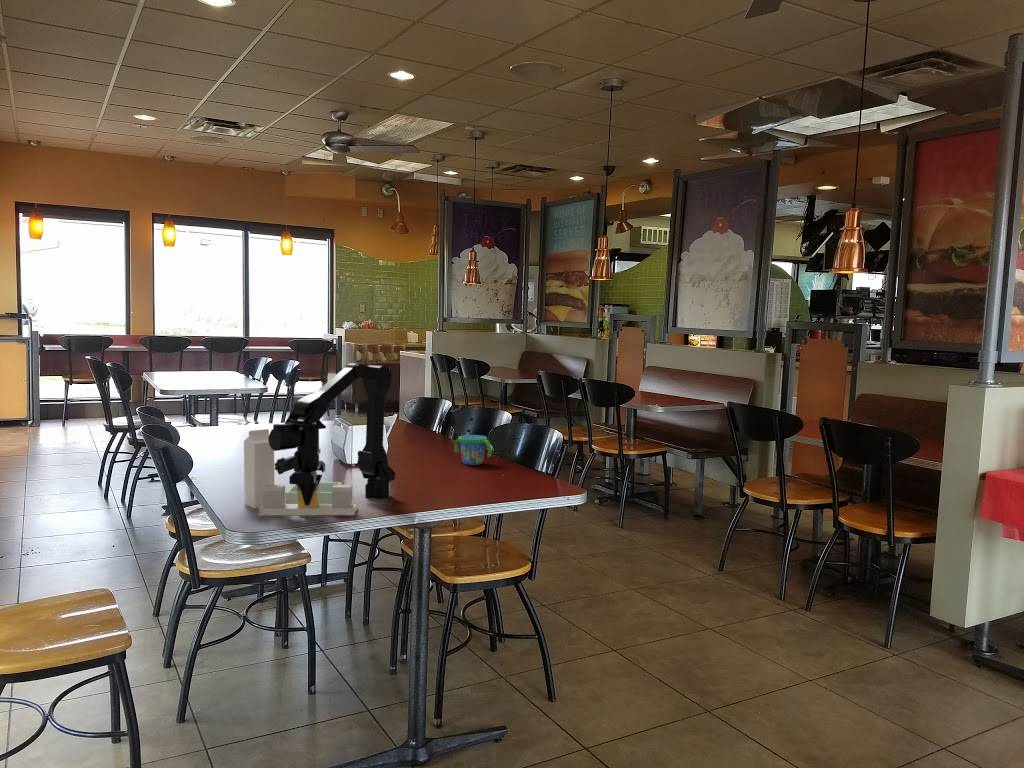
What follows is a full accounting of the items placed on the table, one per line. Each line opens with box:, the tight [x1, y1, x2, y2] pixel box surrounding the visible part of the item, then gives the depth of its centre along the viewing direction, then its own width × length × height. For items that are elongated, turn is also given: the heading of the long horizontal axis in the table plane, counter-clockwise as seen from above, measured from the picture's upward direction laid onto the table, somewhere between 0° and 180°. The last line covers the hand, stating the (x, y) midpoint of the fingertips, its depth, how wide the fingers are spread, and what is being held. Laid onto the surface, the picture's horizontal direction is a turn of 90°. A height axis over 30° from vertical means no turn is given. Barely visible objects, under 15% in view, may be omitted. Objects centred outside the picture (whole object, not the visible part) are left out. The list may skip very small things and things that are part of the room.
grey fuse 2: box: [332, 484, 353, 508], centre depth 204 cm, size 5×3×7 cm, turn 94°
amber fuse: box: [298, 484, 319, 508], centre depth 204 cm, size 5×3×7 cm, turn 94°
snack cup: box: [453, 434, 493, 466], centre depth 282 cm, size 16×10×10 cm
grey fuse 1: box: [263, 484, 286, 508], centre depth 203 cm, size 5×3×7 cm, turn 94°
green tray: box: [285, 481, 343, 504], centre depth 218 cm, size 14×14×4 cm
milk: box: [243, 428, 275, 509], centre depth 210 cm, size 6×6×22 cm
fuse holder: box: [257, 503, 358, 516], centre depth 204 cm, size 25×7×2 cm, turn 94°
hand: (308, 503), depth 204 cm, fingers closed on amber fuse, 3 cm apart
